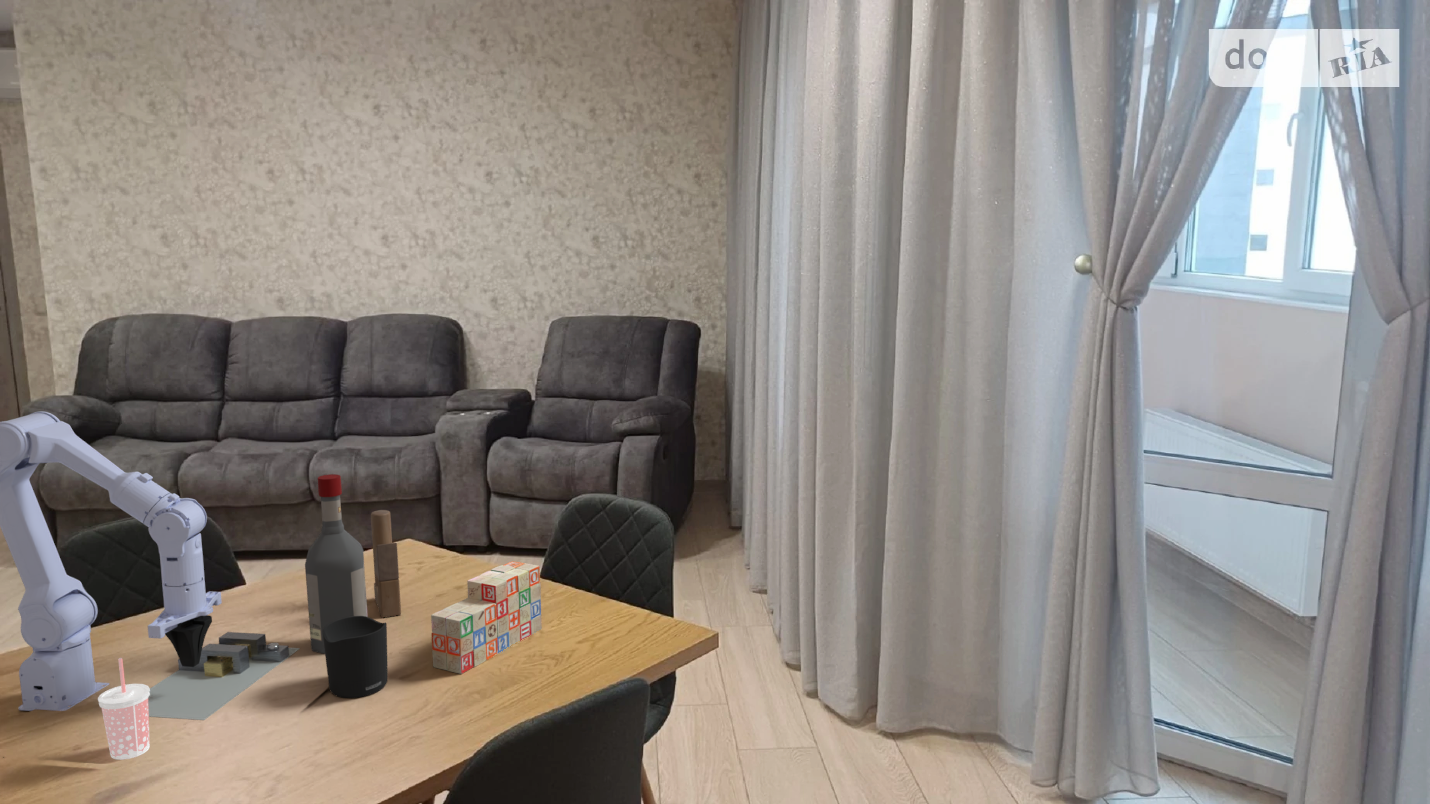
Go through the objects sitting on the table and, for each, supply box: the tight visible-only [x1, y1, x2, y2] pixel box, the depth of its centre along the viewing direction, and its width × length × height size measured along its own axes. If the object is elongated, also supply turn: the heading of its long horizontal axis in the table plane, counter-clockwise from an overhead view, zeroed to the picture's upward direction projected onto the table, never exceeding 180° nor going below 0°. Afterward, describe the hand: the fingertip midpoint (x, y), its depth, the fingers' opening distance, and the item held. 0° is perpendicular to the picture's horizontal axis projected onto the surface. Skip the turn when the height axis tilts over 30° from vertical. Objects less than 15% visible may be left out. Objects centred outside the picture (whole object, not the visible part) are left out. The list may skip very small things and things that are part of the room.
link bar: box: [204, 644, 251, 677], centre depth 167 cm, size 11×3×2 cm, turn 172°
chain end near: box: [177, 643, 250, 674], centre depth 164 cm, size 2×11×4 cm, turn 82°
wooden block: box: [370, 509, 402, 618], centre depth 192 cm, size 4×11×18 cm, turn 25°
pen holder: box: [323, 616, 389, 699], centre depth 159 cm, size 9×9×10 cm
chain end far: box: [218, 631, 290, 663], centre depth 169 cm, size 2×11×4 cm, turn 82°
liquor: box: [304, 473, 369, 655], centre depth 173 cm, size 9×9×30 cm
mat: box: [148, 647, 301, 721], centre depth 161 cm, size 26×15×1 cm, turn 172°
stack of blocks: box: [430, 560, 543, 675], centre depth 173 cm, size 21×6×12 cm, turn 153°
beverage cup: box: [97, 657, 151, 761], centre depth 138 cm, size 6×6×14 cm
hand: (190, 664), depth 156 cm, fingers closed
